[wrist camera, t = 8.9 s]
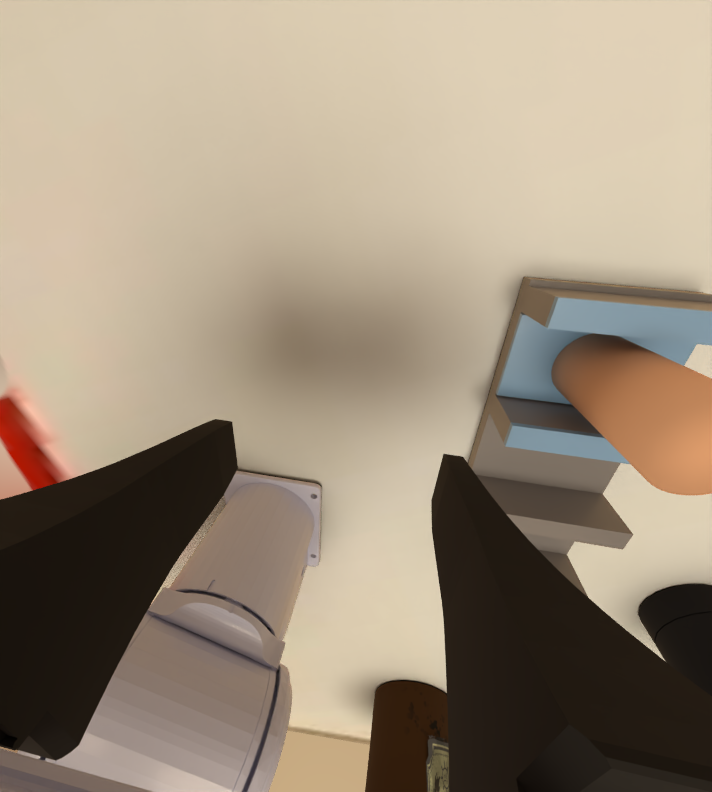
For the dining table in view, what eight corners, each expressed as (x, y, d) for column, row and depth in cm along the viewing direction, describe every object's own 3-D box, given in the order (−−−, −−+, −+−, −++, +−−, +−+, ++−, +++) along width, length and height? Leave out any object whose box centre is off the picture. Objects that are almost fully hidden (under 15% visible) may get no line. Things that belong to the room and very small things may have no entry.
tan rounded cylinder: (613, 403, 16) (737, 503, 10) (541, 394, 17) (618, 485, 10) (647, 337, 15) (821, 407, 8) (566, 328, 15) (676, 390, 9)
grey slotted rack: (553, 555, 23) (581, 616, 20) (445, 537, 24) (452, 592, 20) (700, 292, 15) (802, 310, 11) (523, 276, 15) (561, 289, 12)
